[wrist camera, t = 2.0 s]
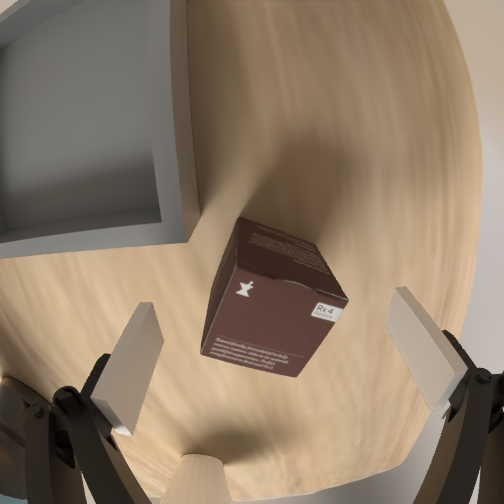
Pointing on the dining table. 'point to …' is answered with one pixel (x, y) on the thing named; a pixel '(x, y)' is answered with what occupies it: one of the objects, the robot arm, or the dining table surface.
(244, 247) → the box
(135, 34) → the bin
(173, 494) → the cup
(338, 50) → the dining table surface
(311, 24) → the dining table surface
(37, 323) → the dining table surface
